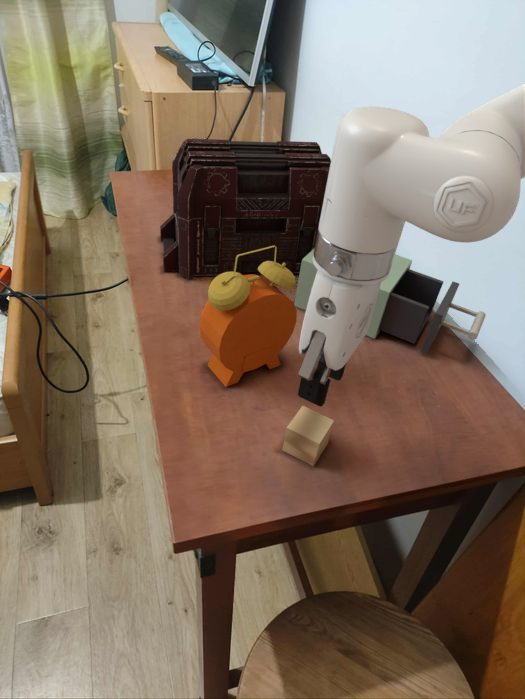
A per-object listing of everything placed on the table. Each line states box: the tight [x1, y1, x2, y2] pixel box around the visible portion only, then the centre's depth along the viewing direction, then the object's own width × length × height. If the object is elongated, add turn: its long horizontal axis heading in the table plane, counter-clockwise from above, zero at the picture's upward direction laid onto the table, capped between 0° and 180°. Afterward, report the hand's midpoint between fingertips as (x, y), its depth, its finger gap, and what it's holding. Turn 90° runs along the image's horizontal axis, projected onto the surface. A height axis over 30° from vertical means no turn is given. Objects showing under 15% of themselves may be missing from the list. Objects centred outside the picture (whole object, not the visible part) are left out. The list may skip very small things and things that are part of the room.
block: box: [281, 405, 335, 467], centre depth 66 cm, size 5×5×5 cm
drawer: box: [379, 268, 487, 354], centre depth 87 cm, size 20×11×8 cm, turn 60°
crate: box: [159, 138, 332, 279], centre depth 97 cm, size 35×19×21 cm, turn 101°
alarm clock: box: [198, 246, 298, 388], centre depth 72 cm, size 13×6×20 cm, turn 125°
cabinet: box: [294, 249, 413, 339], centre depth 90 cm, size 16×13×10 cm
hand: (320, 386), depth 60 cm, fingers open, 4 cm apart
